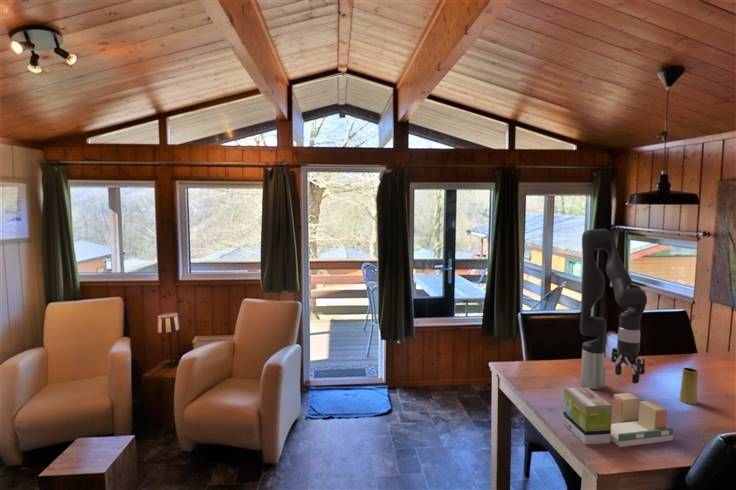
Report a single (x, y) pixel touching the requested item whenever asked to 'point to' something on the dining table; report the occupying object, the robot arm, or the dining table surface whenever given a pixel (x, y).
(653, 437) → the white flat slab
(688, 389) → the vase
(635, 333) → the robot arm
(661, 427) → the faced carton
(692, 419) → the dining table surface
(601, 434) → the tea box
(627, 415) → the carton
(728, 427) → the dining table surface
